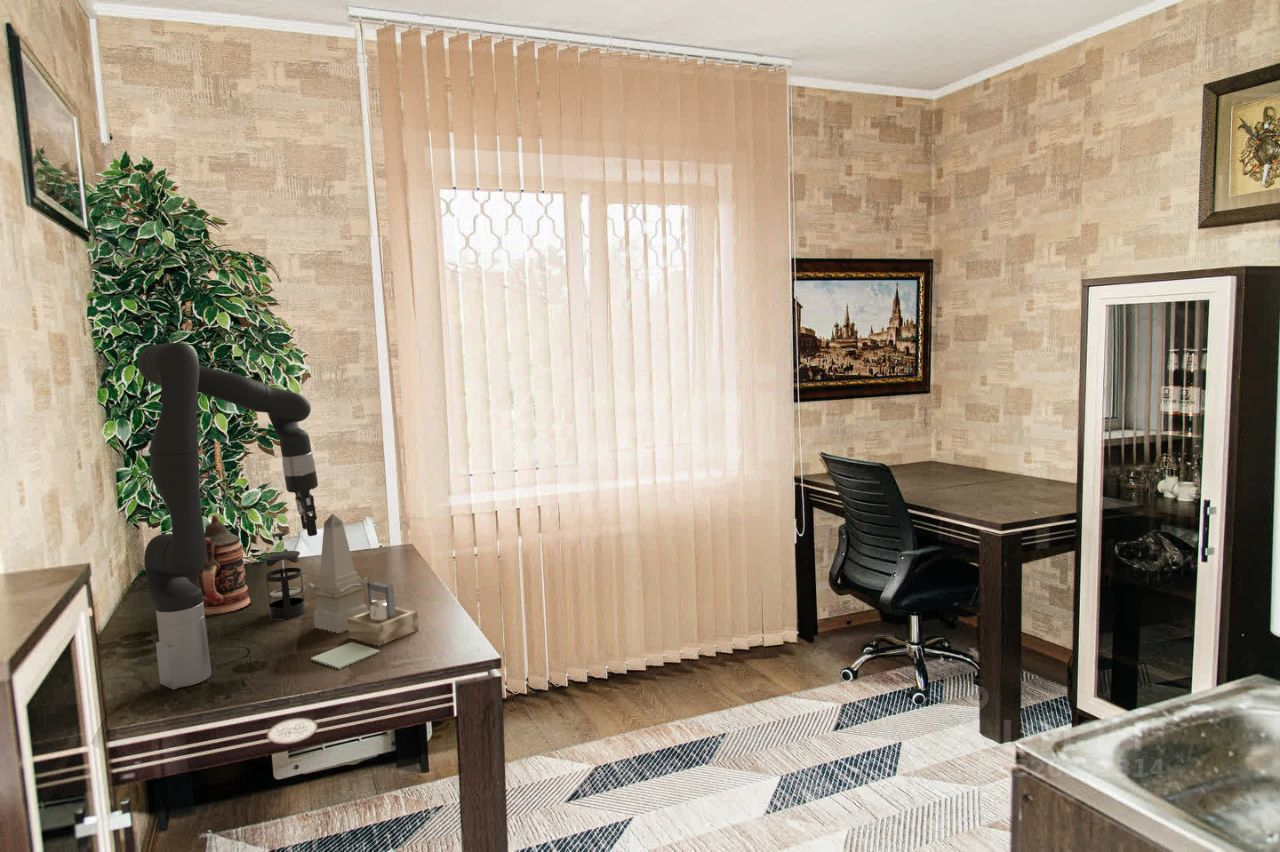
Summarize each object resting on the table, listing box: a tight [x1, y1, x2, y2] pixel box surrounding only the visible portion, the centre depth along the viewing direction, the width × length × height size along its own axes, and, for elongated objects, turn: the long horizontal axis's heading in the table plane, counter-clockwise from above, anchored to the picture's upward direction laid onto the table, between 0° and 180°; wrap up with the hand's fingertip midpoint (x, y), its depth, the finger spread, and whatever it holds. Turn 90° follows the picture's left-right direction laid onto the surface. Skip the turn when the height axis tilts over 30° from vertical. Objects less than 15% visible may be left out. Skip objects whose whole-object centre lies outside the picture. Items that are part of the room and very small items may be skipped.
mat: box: [310, 641, 381, 670], centre depth 187 cm, size 11×11×1 cm
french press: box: [263, 531, 307, 620], centre depth 219 cm, size 12×9×23 cm
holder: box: [347, 606, 419, 647], centre depth 201 cm, size 12×12×5 cm
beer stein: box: [196, 514, 251, 614], centre depth 226 cm, size 17×28×18 cm
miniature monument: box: [308, 513, 369, 634], centre depth 207 cm, size 10×10×30 cm
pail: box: [366, 580, 395, 624], centre depth 200 cm, size 6×8×13 cm
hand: (309, 531), depth 205 cm, fingers open, 8 cm apart
